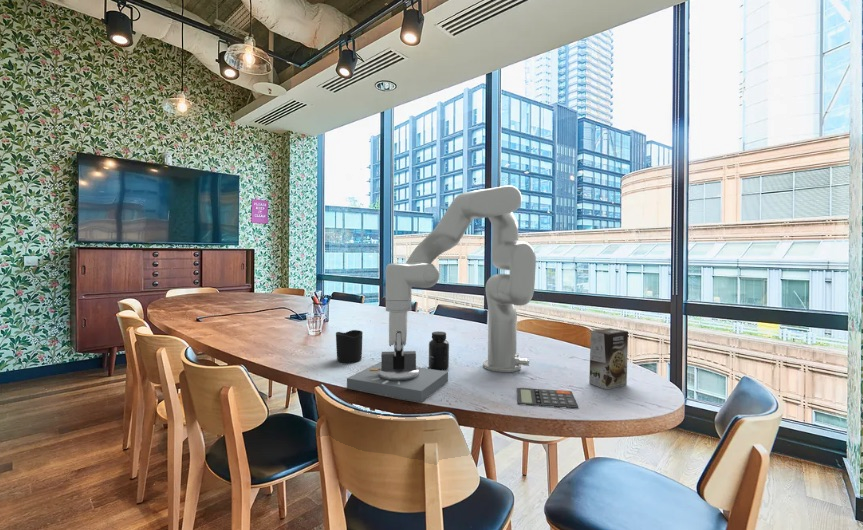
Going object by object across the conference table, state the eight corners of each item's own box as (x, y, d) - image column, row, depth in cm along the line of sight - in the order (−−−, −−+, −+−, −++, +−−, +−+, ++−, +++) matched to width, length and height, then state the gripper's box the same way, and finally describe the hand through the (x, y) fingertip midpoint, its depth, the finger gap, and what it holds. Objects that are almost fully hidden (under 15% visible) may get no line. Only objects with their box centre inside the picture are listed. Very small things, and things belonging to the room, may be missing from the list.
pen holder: (341, 356, 149) (341, 329, 148) (366, 357, 148) (365, 330, 147) (331, 363, 140) (331, 335, 139) (357, 364, 138) (357, 335, 138)
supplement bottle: (425, 369, 132) (425, 333, 132) (433, 364, 139) (433, 330, 138) (444, 372, 130) (444, 335, 129) (451, 366, 136) (451, 331, 135)
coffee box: (606, 390, 114) (608, 334, 113) (588, 383, 119) (589, 329, 118) (627, 385, 118) (629, 331, 117) (609, 378, 123) (610, 327, 123)
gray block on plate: (418, 367, 124) (418, 347, 124) (420, 380, 112) (420, 357, 112) (371, 368, 123) (370, 348, 123) (368, 381, 111) (368, 359, 111)
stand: (448, 381, 121) (448, 370, 121) (421, 402, 105) (421, 390, 104) (380, 370, 131) (380, 361, 131) (346, 388, 115) (346, 377, 115)
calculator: (578, 406, 100) (517, 402, 103) (578, 410, 101) (517, 405, 103) (571, 390, 112) (516, 386, 115) (571, 393, 112) (516, 390, 115)
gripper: (386, 301, 125) (386, 359, 125) (384, 309, 108) (385, 376, 109) (410, 301, 125) (410, 359, 126) (412, 309, 109) (412, 376, 110)
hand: (398, 366), depth 118 cm, fingers closed on gray block on plate, 3 cm apart
